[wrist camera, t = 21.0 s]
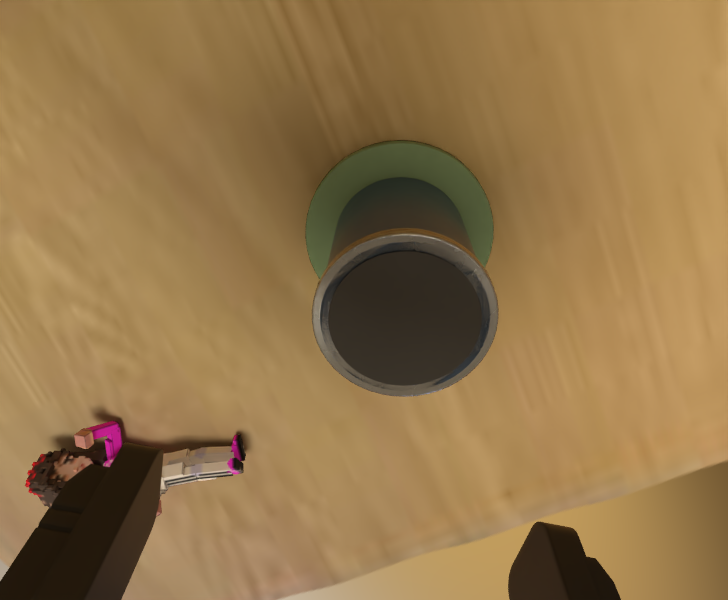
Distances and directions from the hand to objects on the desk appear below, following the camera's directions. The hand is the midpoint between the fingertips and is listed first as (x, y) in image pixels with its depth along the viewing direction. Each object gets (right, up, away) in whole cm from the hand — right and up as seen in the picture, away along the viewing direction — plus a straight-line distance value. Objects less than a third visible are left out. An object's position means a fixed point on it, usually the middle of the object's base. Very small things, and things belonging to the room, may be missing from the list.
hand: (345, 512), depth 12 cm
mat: (+2, +8, +16) cm, 17 cm away
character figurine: (-12, -7, +22) cm, 26 cm away
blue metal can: (+1, +3, +13) cm, 13 cm away
